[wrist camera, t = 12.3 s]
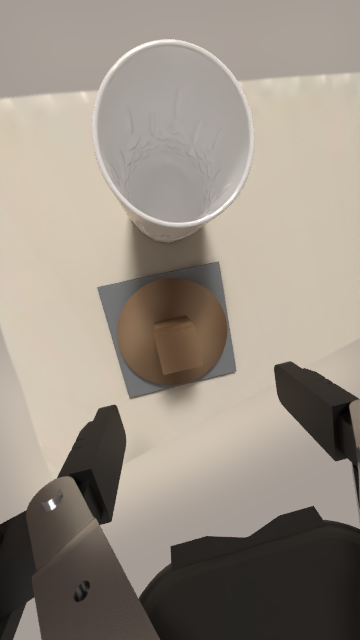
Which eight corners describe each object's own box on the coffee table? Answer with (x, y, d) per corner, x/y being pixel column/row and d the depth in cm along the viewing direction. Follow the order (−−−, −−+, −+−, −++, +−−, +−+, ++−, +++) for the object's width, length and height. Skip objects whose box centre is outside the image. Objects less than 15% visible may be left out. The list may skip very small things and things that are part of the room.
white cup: (222, 220, 21) (280, 174, 11) (154, 265, 21) (154, 257, 11) (178, 138, 19) (203, -1, 9) (104, 188, 19) (54, 100, 10)
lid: (215, 267, 21) (237, 264, 16) (232, 367, 24) (255, 396, 18) (104, 290, 21) (86, 296, 15) (133, 392, 23) (126, 430, 17)
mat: (217, 261, 22) (218, 261, 21) (235, 369, 24) (236, 371, 24) (98, 287, 21) (97, 287, 21) (129, 395, 24) (129, 397, 23)
